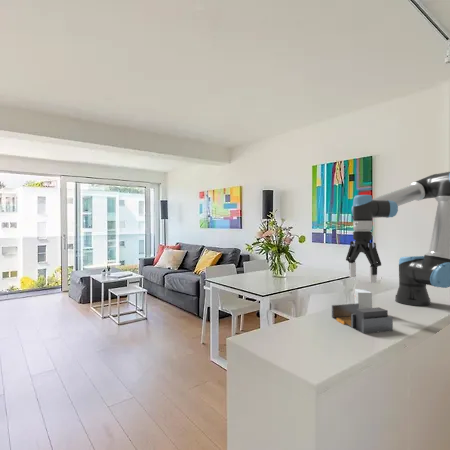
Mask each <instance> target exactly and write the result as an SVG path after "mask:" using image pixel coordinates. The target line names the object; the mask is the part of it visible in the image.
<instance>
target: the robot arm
mask: <svg viewBox="0 0 450 450" xmlns="http://www.w3.org/2000/svg"><path fill="white" fill-rule="evenodd" d="M426 199H435V201H436V202H437V206H436V212H435V217H434V223H433V228H432V233H431V239H430V244H429V250H428V252H427V253H425V254H424V255H419V256H418V255H416V256H401V257H399V260H398V285H399V286H398V288H397V293H396V294H395V296H394V297H395V302H396V303H399V304H403V305H409V306H419V307H422V306H423V307H425V306H430V305H431V298H430V295H429V293H428V292H429V291H428V290H427V286H432V287H434V288H435V287H436V288H443V289H444V288H445V289H446V288H450V171H445V172H440V173H435V174H431V175H428V176H426V177H423V178H421V179H418V180H416V181H414V182H411V183H409V185H408V186H406V187H403V188H400V189H397V190H396V189H395V190H394V191H391V192H389V193H385V194H383V195H379V196H377V197H373V195H371V194H357V195H354V197H353V201H352V206H351V214H352V216H353V217H352V219H353V232H352V235H353V236H352V239H353V241H352V240H351V241H350V245H349V247H348V252H347V253H346V257H345V261H346V262H348V270H349V274H348V276H349V278H357V273H356V271H357V264H356V263H357V262H356V260H357V258H358V257H359V255H360V253H363V254H364V255H365V257H366V259H367V260H368V263H369V264H370V266H369V283H371V284H372V283H373V284H374V283H375V284H376V283H378V282H377V280H378V279H377V276H378V267H381V266H382V262H381V259H380V256H379V253H378V250H377V244H376V242H371V240H373V232H372V230H373V219H374V218H386V219H387V218H394V217H395V216H397V214H398V211H399V206H402V205H405V204H407V203H408V204H409V203H411V202H413V201H419V202H420V201H422V200H426Z"/></svg>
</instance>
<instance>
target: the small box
mask: <svg viewBox="0 0 450 450" xmlns="http://www.w3.org/2000/svg"><path fill="white" fill-rule="evenodd" d="M353 296H354V304H356V303H358V304H359V309H365V308H373V293H372V292H371V291H370V290H369V289H368V288H367V289H366V288H365V289H364V288H363V289H362V288H354V295H353Z"/></svg>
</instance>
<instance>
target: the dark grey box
mask: <svg viewBox="0 0 450 450" xmlns="http://www.w3.org/2000/svg"><path fill="white" fill-rule="evenodd" d="M388 314H389V313H388V309H385V308H381V307H372V308H365V309H356V329H358V330H360V331H362V318H373V317H385V316H388Z"/></svg>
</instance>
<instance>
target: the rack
mask: <svg viewBox="0 0 450 450" xmlns="http://www.w3.org/2000/svg"><path fill="white" fill-rule="evenodd" d="M356 309H359V304H358V303H356V304H355V303H348V304H347V303H346V304H345V303H343V304H332V305H331V318H332V319H334V320H336V321H337V322H338V323H341V324H342V325H346V326H348V327H349V328H352V329H354V330H355V331H357V332H360V333H361V334H373V333H386V332H393V330H394V325H393V323H394V321H393V319H394V318H393V316H392V315H389V316H385V317H373V318H362V331H360V330H358V329H356Z"/></svg>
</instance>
